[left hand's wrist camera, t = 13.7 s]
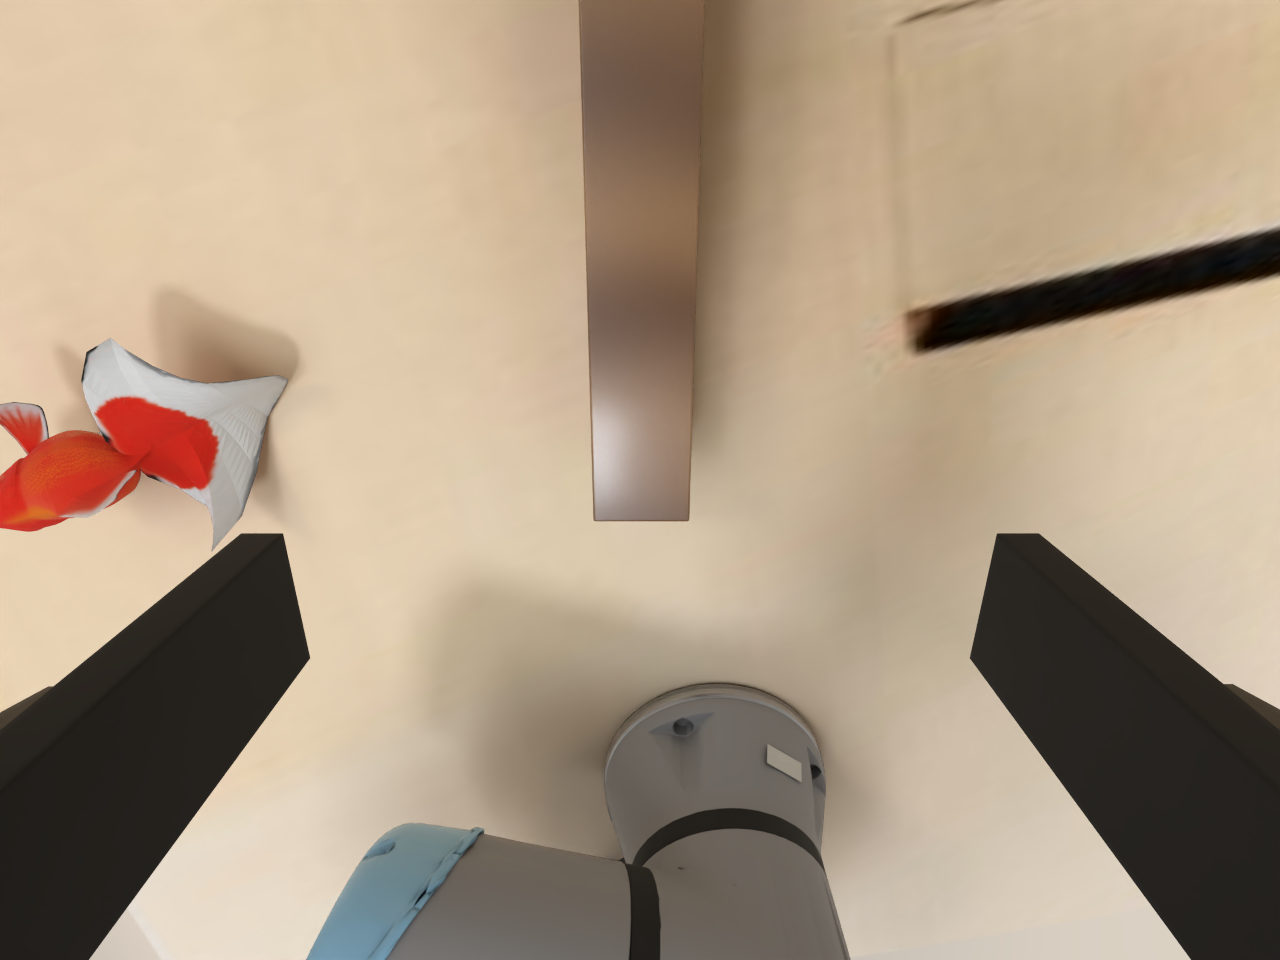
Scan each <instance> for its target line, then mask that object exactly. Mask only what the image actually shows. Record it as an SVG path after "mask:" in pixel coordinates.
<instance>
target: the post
mask: <svg viewBox="0 0 1280 960" xmlns="http://www.w3.org/2000/svg"><path fill="white" fill-rule="evenodd" d="M704 8H705V0H579V25H580V61H581V96H582V131H583V166H584V201H585V236H586V271H587V307H588V342H589V377H590V412H591V447H592V482H593V517H594V521H689V508H690V475H691V442H692V408H693V375H694V342H695V308H696V275H697V241H698V208H699V175H700V141H701V108H702V74H703V41H704Z"/></svg>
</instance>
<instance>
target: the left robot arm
mask: <svg viewBox="0 0 1280 960" xmlns="http://www.w3.org/2000/svg"><path fill="white" fill-rule="evenodd" d="M309 659H310V655H309V651H308V646H307V642H306V637H305V633H304V628H303V623H302V619H301V614H300V610H299V605H298V600H297V596H296V591H295V587H294V582H293V577H292V573H291V568H290V564H289V559H288V554H287V550H286V545H285V541H284V536H283V534H240V535H239V536H238V537H236V538H235V539H234V540H233V541H232V542H230V543H229V544H228V545H227V546H225V547H224V548H223V549H222V550H220V551H219V552H218V553H217V554H216V555H214V556H213V557H212V558H211V559H209V560H208V561H207V562H206V563H205V564H203V565H202V566H201V567H200V568H198V569H197V570H196V571H195V572H193V573H192V574H191V575H190V576H189V577H187V578H186V579H185V580H184V581H182V582H181V583H180V584H179V585H178V586H176V587H175V588H174V589H173V590H171V591H170V592H169V593H168V594H166V595H165V596H164V597H163V598H162V599H160V600H159V601H158V602H157V603H155V604H154V605H153V606H152V607H151V608H149V609H148V610H147V611H146V612H144V613H143V614H142V615H141V616H139V617H138V618H137V619H136V620H135V621H133V622H132V623H131V624H130V625H128V626H127V627H126V628H125V629H124V630H122V631H121V632H120V633H119V634H117V635H116V636H115V637H114V638H113V639H111V640H110V641H109V642H108V643H106V644H105V645H104V646H103V647H101V648H100V649H99V650H98V651H97V652H95V653H94V654H93V655H92V656H90V657H89V658H88V659H87V660H86V661H84V662H83V663H82V664H81V665H79V666H78V667H77V668H76V669H74V670H73V671H72V672H71V673H70V674H68V675H67V676H66V677H65V678H63V679H62V680H61V681H60V682H59V683H57V684H56V685H55V686H54V687H47V688H45V689H43V690H41V691H39V692H37V693H36V694H34V695H32V696H30V697H28V698H26V699H24V700H23V701H21V702H19V703H17V704H15V705H13V706H12V707H10V708H8V709H6V710H4V711H2V712H1V713H0V960H89V959H90V957H91V956H92V955H93V953H94V952H95V951H96V949H97V948H98V946H99V945H100V944H101V942H102V941H103V940H104V938H105V937H106V936H107V934H108V933H109V931H110V930H111V929H112V927H113V926H114V925H115V923H116V922H117V921H118V919H119V918H120V916H121V915H122V914H123V912H124V911H125V910H126V908H127V907H128V906H129V904H130V903H131V902H132V900H133V899H134V897H135V896H136V895H137V893H138V892H139V891H140V889H141V888H142V887H143V885H144V884H145V882H146V881H147V880H148V878H149V877H150V876H151V874H152V873H153V872H154V870H155V869H156V867H157V866H158V865H159V863H160V862H161V861H162V859H163V858H164V857H165V855H166V854H167V852H168V851H169V850H170V848H171V847H172V846H173V844H174V843H175V842H176V840H177V839H178V837H179V836H180V835H181V833H182V832H183V831H184V829H185V828H186V827H187V825H188V824H189V822H190V821H191V820H192V818H193V817H194V816H195V814H196V813H197V812H198V810H199V809H200V807H201V806H202V805H203V803H204V802H205V801H206V799H207V798H208V797H209V795H210V794H211V792H212V791H213V790H214V788H215V787H216V786H217V784H218V783H219V782H220V780H221V779H222V777H223V776H224V775H225V773H226V772H227V771H228V769H229V768H230V767H231V765H232V764H233V763H234V761H235V760H236V758H237V757H238V756H239V754H240V753H241V752H242V750H243V749H244V748H245V746H246V745H247V743H248V742H249V741H250V739H251V738H252V737H253V735H254V734H255V733H256V731H257V730H258V728H259V727H260V726H261V724H262V723H263V722H264V720H265V719H266V718H267V716H268V715H269V713H270V712H271V711H272V709H273V708H274V707H275V705H276V704H277V703H278V701H279V700H280V698H281V697H282V696H283V694H284V693H285V692H286V690H287V689H288V688H289V686H290V685H291V683H292V682H293V681H294V679H295V678H296V677H297V675H298V674H299V673H300V671H301V670H302V668H303V667H304V666H305V664H306V663H307V662H308V660H309ZM970 659H971V660H972V662H973V663H974V664H975V666H976V667H977V668H978V670H979V671H980V673H981V674H982V675H983V677H984V678H985V679H986V681H987V682H988V683H989V685H990V686H991V688H992V689H993V690H994V692H995V693H996V694H997V696H998V697H999V698H1000V700H1001V701H1002V703H1003V704H1004V705H1005V707H1006V708H1007V709H1008V711H1009V712H1010V713H1011V715H1012V716H1013V718H1014V719H1015V720H1016V722H1017V723H1018V724H1019V726H1020V727H1021V728H1022V730H1023V731H1024V733H1025V734H1026V735H1027V737H1028V738H1029V739H1030V741H1031V742H1032V743H1033V745H1034V746H1035V748H1036V749H1037V750H1038V752H1039V753H1040V754H1041V756H1042V757H1043V758H1044V760H1045V761H1046V763H1047V764H1048V765H1049V767H1050V768H1051V769H1052V771H1053V772H1054V773H1055V775H1056V776H1057V778H1058V779H1059V780H1060V782H1061V783H1062V784H1063V786H1064V787H1065V788H1066V790H1067V791H1068V792H1069V794H1070V795H1071V797H1072V798H1073V799H1074V801H1075V802H1076V803H1077V805H1078V806H1079V807H1080V809H1081V810H1082V812H1083V813H1084V814H1085V816H1086V817H1087V818H1088V820H1089V821H1090V822H1091V824H1092V825H1093V827H1094V828H1095V829H1096V831H1097V832H1098V833H1099V835H1100V836H1101V837H1102V839H1103V840H1104V842H1105V843H1106V844H1107V846H1108V847H1109V848H1110V850H1111V851H1112V852H1113V854H1114V855H1115V857H1116V858H1117V859H1118V861H1119V862H1120V863H1121V865H1122V866H1123V867H1124V869H1125V870H1126V872H1127V873H1128V874H1129V876H1130V877H1131V878H1132V880H1133V881H1134V882H1135V884H1136V885H1137V887H1138V888H1139V889H1140V891H1141V892H1142V893H1143V895H1144V896H1145V897H1146V899H1147V900H1148V902H1149V903H1150V904H1151V906H1152V907H1153V908H1154V910H1155V911H1156V912H1157V914H1158V915H1159V916H1160V918H1161V919H1162V921H1163V922H1164V923H1165V925H1166V926H1167V927H1168V929H1169V930H1170V931H1171V933H1172V934H1173V936H1174V937H1175V938H1176V939H1177V941H1178V942H1179V944H1180V945H1181V946H1182V948H1183V949H1184V950H1185V952H1186V953H1187V955H1188V956H1189V957H1190V959H1191V960H1280V710H1279V709H1278V708H1276V707H1274V706H1272V705H1270V704H1268V703H1267V702H1265V701H1263V700H1261V699H1259V698H1257V697H1255V696H1254V695H1252V694H1250V693H1248V692H1246V691H1244V690H1242V689H1241V688H1239V687H1237V686H1235V685H1233V684H1223V683H1221V682H1220V681H1219V680H1218V679H1217V678H1215V677H1214V676H1213V675H1212V674H1210V673H1209V672H1208V671H1207V670H1206V669H1204V668H1203V667H1202V666H1201V665H1199V664H1198V663H1197V662H1196V661H1194V660H1193V659H1192V658H1191V657H1190V656H1188V655H1187V654H1186V653H1185V652H1183V651H1182V650H1181V649H1180V648H1179V647H1177V646H1176V645H1175V644H1174V643H1172V642H1171V641H1170V640H1169V639H1167V638H1166V637H1165V636H1164V635H1163V634H1161V633H1160V632H1159V631H1158V630H1156V629H1155V628H1154V627H1153V626H1152V625H1150V624H1149V623H1148V622H1147V621H1145V620H1144V619H1143V618H1142V617H1140V616H1139V615H1138V614H1137V613H1136V612H1134V611H1133V610H1132V609H1131V608H1129V607H1128V606H1127V605H1126V604H1125V603H1123V602H1122V601H1121V600H1120V599H1118V598H1117V597H1116V596H1115V595H1114V594H1112V593H1111V592H1110V591H1109V590H1107V589H1106V588H1105V587H1104V586H1102V585H1101V584H1100V583H1099V582H1098V581H1096V580H1095V579H1094V578H1093V577H1091V576H1090V575H1089V574H1088V573H1087V572H1085V571H1084V570H1083V569H1082V568H1080V567H1079V566H1078V565H1077V564H1075V563H1074V562H1073V561H1072V560H1071V559H1069V558H1068V557H1067V556H1066V555H1064V554H1063V553H1062V552H1061V551H1060V550H1058V549H1057V548H1056V547H1055V546H1053V545H1052V544H1051V543H1050V542H1048V541H1047V540H1046V539H1045V538H1044V537H1042V536H1041V535H1040V534H997V536H996V541H995V545H994V550H993V554H992V559H991V564H990V568H989V573H988V577H987V582H986V587H985V591H984V596H983V600H982V605H981V610H980V614H979V619H978V623H977V628H976V632H975V637H974V642H973V646H972V651H971V655H970ZM604 784H605V794H606V802H607V807H608V811H609V814H610V817H611V820H612V822H613V825H614V828H615V831H616V834H617V838H618V841H619V844H620V847H621V850H622V853H623V856H624V858H622V859H620V860H618V861H616V860H610V859H605V858H600V857H595V856H590V855H585V854H580V853H575V852H570V851H564V850H559V849H554V848H549V847H544V846H539V845H534V844H529V843H524V842H519V841H514V840H509V839H505V838H500V837H495V836H491V835H486V834H484V829H482V828H478V827H475V828H473V829H471V830H464V829H457V828H450V827H443V826H436V825H429V824H422V823H409V824H403V825H400V826H397V827H395V828H393V829H392V830H390V831H388V832H387V833H386V834H384V835H383V836H382V837H381V838H380V839H378V841H377V842H376V843H375V844H374V845H373V846H372V847H371V848H370V849H369V851H368V852H367V853H366V855H365V856H364V857H363V859H362V860H361V862H360V863H359V865H358V866H357V868H356V869H355V871H354V873H353V874H352V876H351V877H350V879H349V881H348V882H347V884H346V886H345V887H344V889H343V891H342V893H341V894H340V896H339V898H338V900H337V901H336V903H335V905H334V907H333V909H332V911H331V912H330V914H329V916H328V918H327V920H326V922H325V924H324V926H323V927H322V929H321V931H320V933H319V935H318V937H317V939H316V941H315V943H314V945H313V947H312V949H311V951H310V953H309V955H308V957H307V959H306V960H850V956H849V953H848V949H847V946H846V942H845V939H844V935H843V932H842V928H841V925H840V921H839V918H838V914H837V911H836V907H835V904H834V900H833V897H832V893H831V890H830V886H829V883H828V879H827V876H826V873H825V869H824V865H823V862H822V858H821V843H822V831H823V819H824V806H825V794H826V781H825V772H824V765H823V761H822V757H821V754H820V751H819V748H818V745H817V742H816V739H815V737H814V735H813V733H812V731H811V729H810V728H809V726H808V725H807V723H806V722H805V721H804V719H803V718H802V717H801V716H800V715H799V714H798V713H797V712H796V711H795V710H793V709H792V708H791V707H790V706H788V705H787V704H785V703H784V702H782V701H781V700H779V699H777V698H775V697H774V696H772V695H769V694H767V693H764V692H762V691H759V690H756V689H753V688H748V687H744V686H738V685H731V684H704V685H695V686H690V687H685V688H681V689H677V690H674V691H671V692H669V693H666V694H664V695H661V696H659V697H657V698H655V699H653V700H651V701H650V702H648V703H646V704H645V705H643V706H642V707H640V708H639V709H638V710H637V711H635V712H634V713H633V714H632V715H631V716H630V717H629V718H628V719H627V720H626V721H625V722H624V723H623V724H622V726H621V727H620V728H619V730H618V731H617V733H616V734H615V736H614V738H613V740H612V742H611V744H610V747H609V750H608V753H607V758H606V767H605V782H604Z"/></svg>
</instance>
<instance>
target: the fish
mask: <svg viewBox="0 0 1280 960" xmlns="http://www.w3.org/2000/svg"><path fill="white" fill-rule="evenodd" d="M81 381H82V386H83V390H84V395H85V399H86V401H87V404H88V406H89V408H90V411H91V413H92V415H93V417H94V419H95V421H96V423H97V425H98V427H99V429H100V433H99V434H97V433H92V432H87V431H75V430H73V431H66V432H62V433H60V434H57V435H55V436H52V437H50V438H49V434H48V426H47V421H46V418H45V414H44V411H43V409H42V408H41V407H40V406H38V405H34V404H27V403H17V402H12V403H6V404H0V425H2V426H3V427H4V428H5V429H6V430H7V431H8V432H9V434H11V435H12V436H13V437H14V438H15V439H16V440H17V441H18V443H19V444H20V445H21V447H22V448H23V449H24V451H25V452H26V453H27V454H28V455H27V456H26V457H25V458H21V459H19V460H17V461H16V462H15V463H14V464H13V465H12V466H11V467H10V468H9V469H8V470H6V471H5V472H4V473H3V474H2V475H1V476H0V528H5V529H12V530H19V531H27V532H30V531H38V530H40V529H42V528H44V527H48V526H52V525H55V524H58V523H60V522H62V521H64V520H66V519H68V518H74V517H90V516H92V515H94V514H96V513H98V512H100V511H102V510H103V509H105V508H107V507H109V506H111V505H113V504H115V503H116V502H118V501H119V500H121V499H122V498H124V497H125V496H127V495H128V494H129V493H131V492H132V491H133V490H134V489H135V488H136V486H137V484H138V482H139V479H140V475H141V471H142V472H143V473H144V474H145V475H146V476H148V477H150V478H153V479H155V480H158V481H160V482H163V483H166V484H168V485H171V486H174V487H176V488H179V489H181V490H182V491H184V492H185V493H187V494H188V495H190V496H191V497H193V498H194V499H196V500H198V501H199V502H201V503H203V504H205V505H206V506H207V507H208V510H209V512H210V514H211V518H212V523H213V530H214V533H213V545H212V551H213V549H214V548H215V547H216V546H217V545H218V543H219V542H220V541H221V540H222V539H223V538H224V536H225V535H226V534H227V533H228V532H229V530H230V529H231V528H232V527H233V526H234V525H235V523H236V522H237V521H238V520H239V519H240V517H241V516H242V514H243V511H244V508H245V505H246V502H247V499H248V496H249V493H250V490H251V487H252V484H253V482H254V479H255V476H256V473H257V468H258V463H259V457H260V452H261V447H262V442H263V437H264V433H265V428H266V423H267V419H268V416H269V414H270V412H271V411H272V409H273V408H274V406H275V404H276V403H277V401H278V399H279V397H280V395H281V393H282V392H283V390H284V388H285V387H286V385H287V382H288V379H286V378H283V377H281V376H279V375H275V376H266V377H260V378H254V379H247V380H237V381H227V382H217V383H202V382H198V381H193V380H188V379H184V378H180V377H177V376H175V375H173V374H170V373H168V372H166V371H163V370H161V369H158V368H156V367H154V366H152V365H150V364H148V363H147V362H145V361H143V360H142V359H140V358H138V357H137V356H135V355H133V354H132V353H130V352H128V351H127V350H125V349H124V348H123V347H121V346H120V345H119V344H118V343H116V342H115V341H114V340H112V339H111V338H110V339H108V340H106V341H105V342H103V343H101V344H100V345H98V346H96V347H94V348H93V349H91V350H89V351H88V352H87V353H86V358H85V363H84V369H83V374H82V380H81ZM212 551H211V552H212Z"/></svg>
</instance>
